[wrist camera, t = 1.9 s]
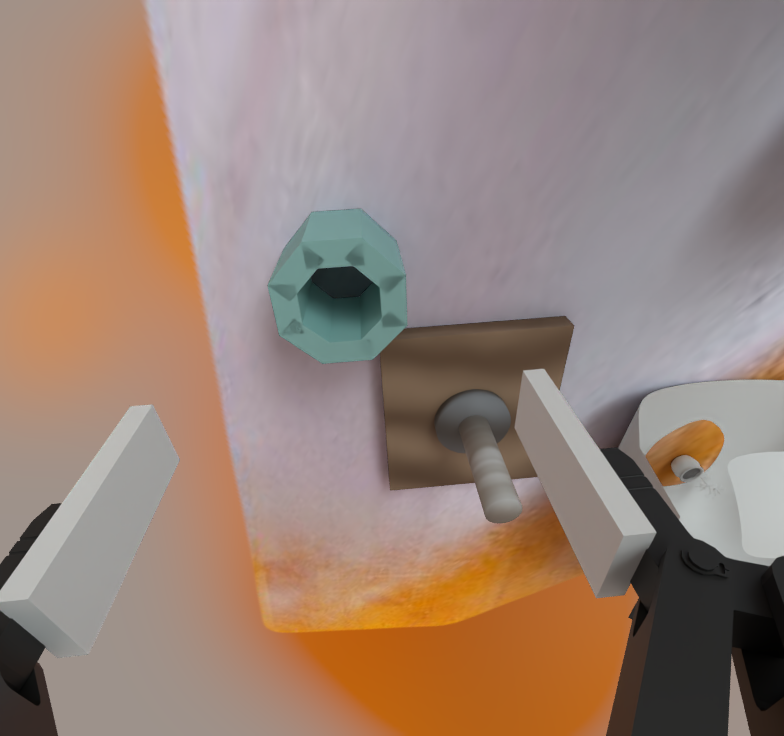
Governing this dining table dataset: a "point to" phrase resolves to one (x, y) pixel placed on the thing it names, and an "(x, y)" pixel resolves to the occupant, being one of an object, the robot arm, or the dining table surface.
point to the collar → (339, 315)
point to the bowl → (722, 463)
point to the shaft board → (466, 404)
